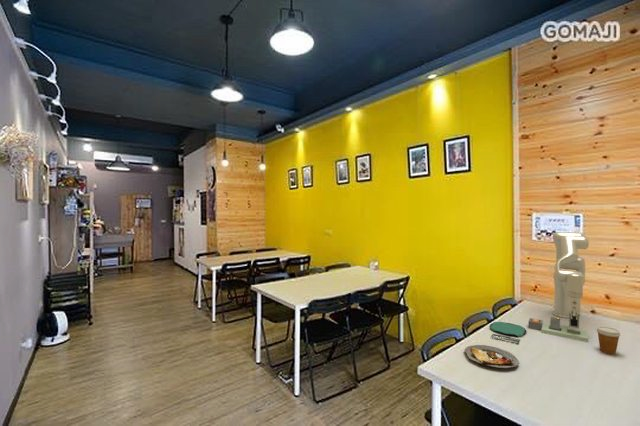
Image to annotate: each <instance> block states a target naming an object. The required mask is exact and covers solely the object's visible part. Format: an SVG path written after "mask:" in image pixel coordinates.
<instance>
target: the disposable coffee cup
mask: <svg viewBox="0 0 640 426" xmlns="http://www.w3.org/2000/svg"><path fill="white" fill-rule="evenodd" d="M596 331H597V336H598V345H599V351H600V352H602V353H603V354H607V355H608V354H609V355H616V354H617V349H618V343H619V339H620V336H621V333H620V331H619V330H618V329H617V328H616V329H615V328H612V327H610V326H609V327H608V326H598V327H597V328H596Z"/></svg>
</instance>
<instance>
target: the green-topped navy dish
mask: <svg viewBox="0 0 640 426" xmlns="http://www.w3.org/2000/svg"><path fill="white" fill-rule="evenodd" d="M489 327H490V330H491V331H493V332H496V333H500V334H496V333H492V335H491V338H494V337H495V338H494V339H495V341H498V340H502V342H505V341H506V343H509V342H511V343H510V344H514V343H515V345H519V344H520V341H521V339H519V338H521V337H523V336H524V335H526V334H527V333H528V332H527V329H526V328H525V327H523V326H521V325H519V324H514V323H510V322H505V321H494V322H492V323H491V324H489ZM502 334H503V335H502ZM505 335H506V336H505ZM507 335H508V336H507ZM496 336H498V337H496ZM511 336H517V337H518V338H515V337H511ZM500 337H501V338H503V339H498V338H500ZM494 339H493V340H494Z"/></svg>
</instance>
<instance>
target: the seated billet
mask: <svg viewBox="0 0 640 426" xmlns="http://www.w3.org/2000/svg"><path fill="white" fill-rule="evenodd" d="M549 324H550V329H553V330H558V331H560V326H561V317H553V316H550V322H549Z"/></svg>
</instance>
